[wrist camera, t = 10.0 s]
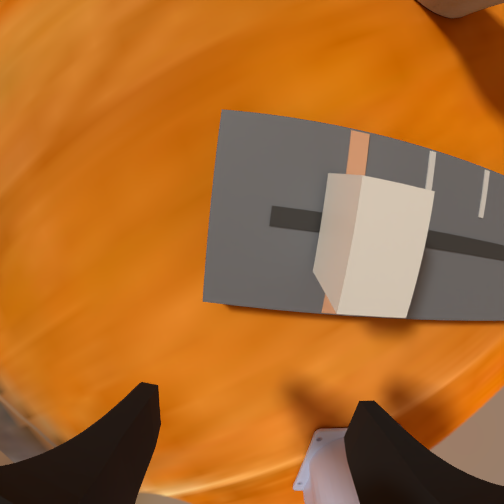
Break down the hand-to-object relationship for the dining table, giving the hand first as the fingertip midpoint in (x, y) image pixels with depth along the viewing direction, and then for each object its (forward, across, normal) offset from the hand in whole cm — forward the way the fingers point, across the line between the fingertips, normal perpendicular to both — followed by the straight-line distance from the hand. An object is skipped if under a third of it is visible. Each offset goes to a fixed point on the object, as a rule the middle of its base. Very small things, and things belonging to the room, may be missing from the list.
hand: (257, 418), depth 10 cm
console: (+9, -10, -6) cm, 15 cm away
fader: (+7, -4, -6) cm, 10 cm away
